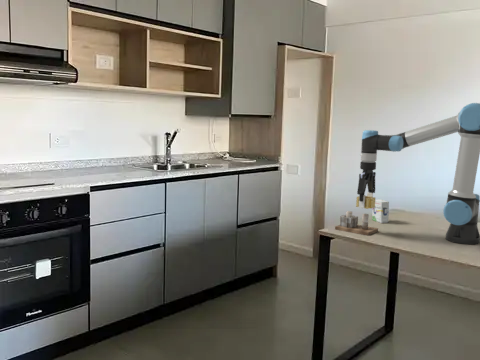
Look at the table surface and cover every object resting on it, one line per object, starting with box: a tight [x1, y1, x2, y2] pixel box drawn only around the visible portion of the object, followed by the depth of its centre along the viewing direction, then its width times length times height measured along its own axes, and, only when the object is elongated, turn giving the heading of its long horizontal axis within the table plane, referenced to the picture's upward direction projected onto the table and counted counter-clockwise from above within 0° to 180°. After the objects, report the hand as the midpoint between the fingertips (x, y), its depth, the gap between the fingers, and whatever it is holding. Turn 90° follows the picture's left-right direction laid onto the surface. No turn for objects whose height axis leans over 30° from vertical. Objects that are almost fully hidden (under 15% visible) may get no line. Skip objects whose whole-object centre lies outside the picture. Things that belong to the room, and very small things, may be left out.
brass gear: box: [355, 195, 376, 210], centre depth 249 cm, size 8×8×5 cm
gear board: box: [334, 210, 379, 236], centre depth 254 cm, size 18×12×9 cm, turn 50°
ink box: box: [371, 198, 390, 224], centre depth 276 cm, size 9×5×12 cm, turn 21°
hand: (365, 206), depth 250 cm, fingers closed on brass gear, 8 cm apart
